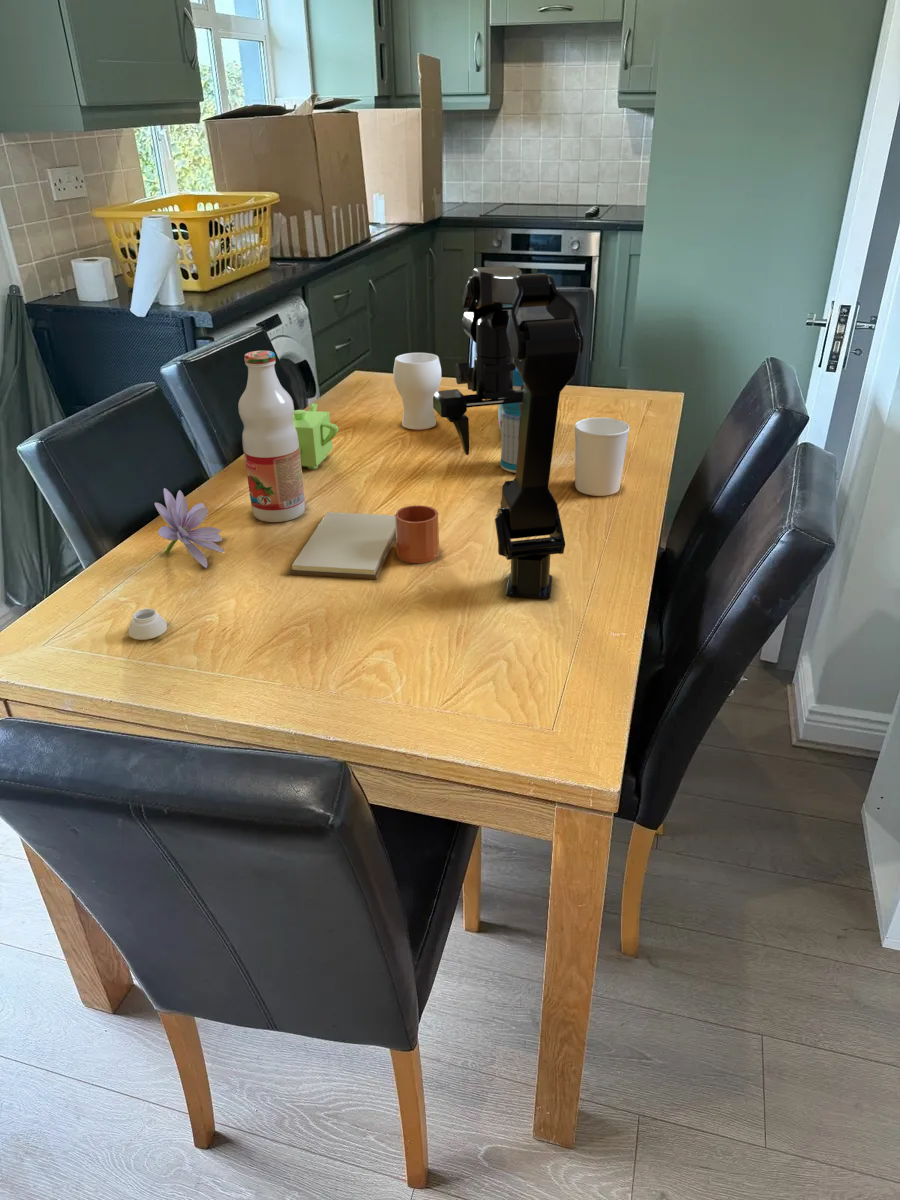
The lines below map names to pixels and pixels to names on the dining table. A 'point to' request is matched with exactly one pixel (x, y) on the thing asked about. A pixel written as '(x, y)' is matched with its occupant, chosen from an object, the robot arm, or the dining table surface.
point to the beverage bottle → (510, 429)
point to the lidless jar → (146, 624)
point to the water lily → (187, 526)
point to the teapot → (314, 435)
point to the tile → (347, 546)
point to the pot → (417, 534)
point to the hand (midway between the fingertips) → (493, 451)
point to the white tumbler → (600, 455)
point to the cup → (417, 387)
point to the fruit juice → (270, 443)
